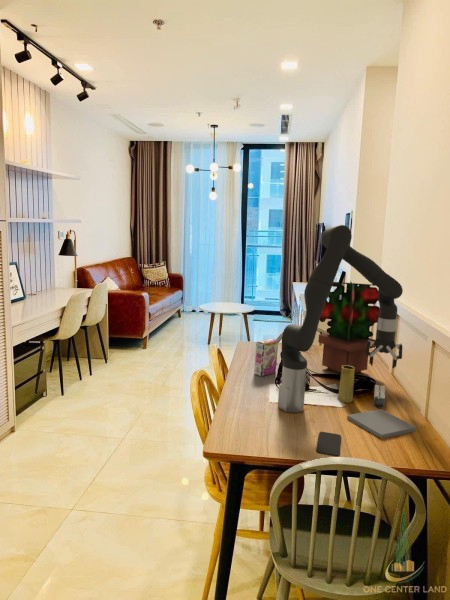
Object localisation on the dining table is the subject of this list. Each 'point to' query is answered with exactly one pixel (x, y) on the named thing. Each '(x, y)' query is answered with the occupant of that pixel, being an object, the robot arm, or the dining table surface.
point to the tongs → (379, 396)
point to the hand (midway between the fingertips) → (382, 366)
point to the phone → (328, 444)
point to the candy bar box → (266, 357)
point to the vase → (346, 384)
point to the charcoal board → (381, 423)
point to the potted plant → (348, 326)
